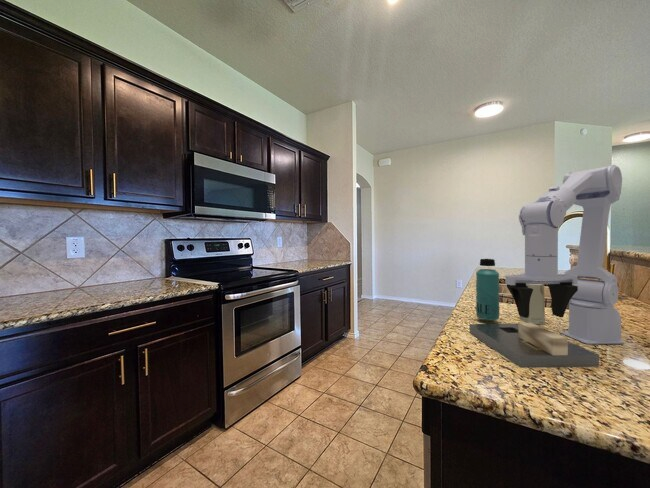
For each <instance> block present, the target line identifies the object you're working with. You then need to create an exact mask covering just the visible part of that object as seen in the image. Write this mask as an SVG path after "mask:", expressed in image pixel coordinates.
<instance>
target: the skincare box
mask: <svg viewBox="0 0 650 488" xmlns="http://www.w3.org/2000/svg"><path fill="white" fill-rule="evenodd" d="M526 286H528V288H532V289H533V292H532V295H531V298H530V304H529V317H528V318H524V317H522V316H519V320H520V321H523V322H524V323H533V324H535V325H538V326H540V325H541V326H542V325H543V326H544V325H546V320H545V319H546V317H545V310H546V309H545V306H546V305H545V284H526Z"/></svg>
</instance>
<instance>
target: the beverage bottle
mask: <svg viewBox="0 0 650 488" xmlns="http://www.w3.org/2000/svg"><path fill="white" fill-rule="evenodd" d="M479 266H482V267H495V266H496V261H495V259H493V258H481V259H480V261H479ZM475 275H476V277H475V278H476V279H475V281H476V282H475V290H476V291H475V293H476V295H475V301H476V302H475V313H476V314H475V315H476V317H477V318H479V319H481V320H488V321H497V320H499V319H500V313H501V312H500V295H499V294H500V292H499V291H500V273H499V272H498V271H497V270H496V269H492V268H481V269H478V270H477V271H476V272H475Z"/></svg>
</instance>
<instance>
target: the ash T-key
mask: <svg viewBox="0 0 650 488" xmlns="http://www.w3.org/2000/svg"><path fill="white" fill-rule="evenodd" d="M517 324H518V337H519V338H521V339H523V340H525V341H527V342H529V343H531V344H532V345H534V347H536V348H538V349H542V350H544V351H546V352H548V353H549V354H551V355H568V342H569V338H568V337H566V336H565V335H564V336H563V335H562V334H560V333H557V332H554V331H552V330H549V329H547V328H544V327H542V326H540V325H539V324H533V323H527V322H518V323H517Z"/></svg>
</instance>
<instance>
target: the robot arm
mask: <svg viewBox="0 0 650 488" xmlns="http://www.w3.org/2000/svg"><path fill="white" fill-rule="evenodd" d="M621 171H622V170H621V168H620V167H619V166H617V165H616V164H610V165H608V166H602V167H597V168H591V169H586V170H585V169H584V170H580V171H573V172H572V171H571V172H570V171H569V172H567V173H566V174H565V175H564V176H563V179H562V185H560V186H559V185H558V186H557V185H556V186H551V187H549V188H548V191H547V192H545V194H543V195H541V196H540V197H539V198H538V199H537V200H535V201H534V202H527V203H525V205H523V206H522V207H521V209H520V210H519V215H518V221H519V223H520V226H521V233H522V236H524V273H521V274H510V275H506V274H505V278H504V279H505V280H504V283H505V285H506V289H507V290H508V291H509V293H510V295H511V296H512V299H513V301H514V304H515V306H516V309H517V313H518V316H519V317H520V316H522V317H524V318H528V317H529V304H530V298H531V295H532V292H533V289H532V288H528V286H526V284H542V285H547V287H548V290H549V294H550V299H551V313H552V316H555V317H558V318H564V316H565V313H566V310H567V307H568V330H560V331H559V334H560V335H564V336H565V337H566V336H567V337H569V338H571V339H574V340H576V341H578V342H581V343H584V344H587V345H607V344H608V345H609V344H610V345H611V344H612V345H613V344H614V345H617V344H619V345H620V344H622V345H623V344H626V343H625V341H624V340H622V316H621V314H620V312H619V310H618V309H617V308H616V307H614V305H616V304H617V302H618V299H619V287H618V277H616V275H614V274H613V273H611V272H610V271H609V270H607V269H605V268H604V263H605V262H604V260H605V252H606V250H605V249H606V241H607V235H608V226H609V215H610V210H611V205H612V204H614V203H616V202H617V201H619V200H620V196H621V194H622V186H623V175H622V172H621ZM573 205H576V206H579V207H582V209H583V212H582V220H581V222H582V223H581V227H580V228H581V230H580V235H579V246H578V254H577V261H576V266H574V267H572V268H570V269H568V270H566V271H564V273H563V274H562V273H559V272H558V271H559V270H558V269H559V266H558V264H559V263H558V261H559V260H558V259H559V227H560V226H562V225H563V223H564V221H565V216H566V215H567V211H568V210H569V209H570V208H572V206H573ZM568 305H569V306H568Z"/></svg>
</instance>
